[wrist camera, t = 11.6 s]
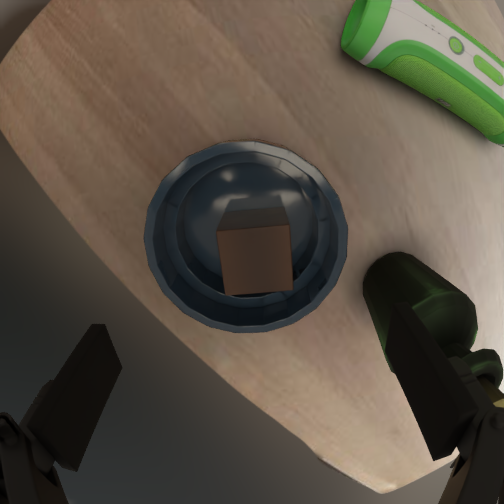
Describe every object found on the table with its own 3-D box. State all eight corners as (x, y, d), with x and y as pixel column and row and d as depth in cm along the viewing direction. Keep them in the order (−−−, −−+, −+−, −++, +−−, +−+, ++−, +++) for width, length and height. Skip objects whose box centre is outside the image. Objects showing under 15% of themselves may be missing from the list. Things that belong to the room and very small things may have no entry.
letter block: (230, 267, 28) (225, 296, 23) (223, 212, 26) (215, 231, 21) (288, 262, 27) (293, 290, 23) (284, 206, 26) (290, 224, 21)
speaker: (330, 63, 22) (356, 40, 15) (352, -3, 19) (381, -39, 12) (486, 149, 23) (537, 161, 16) (501, 89, 21) (551, 88, 14)
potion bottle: (338, 301, 29) (397, 463, 13) (382, 228, 27) (505, 355, 10) (398, 326, 31) (470, 462, 14) (441, 263, 28) (552, 377, 11)
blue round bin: (157, 274, 29) (136, 307, 23) (185, 122, 24) (164, 120, 18) (300, 309, 30) (308, 348, 24) (350, 166, 25) (375, 177, 19)
